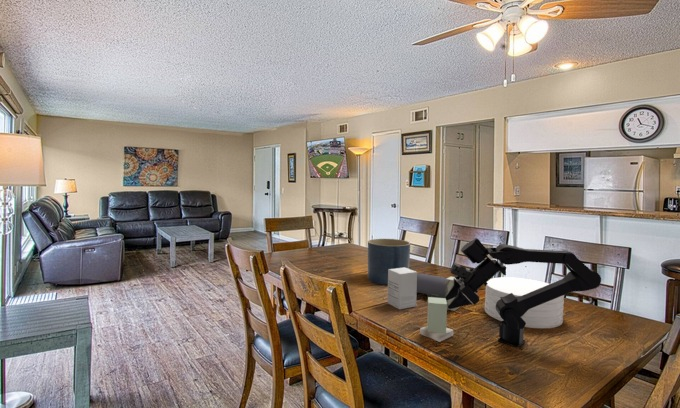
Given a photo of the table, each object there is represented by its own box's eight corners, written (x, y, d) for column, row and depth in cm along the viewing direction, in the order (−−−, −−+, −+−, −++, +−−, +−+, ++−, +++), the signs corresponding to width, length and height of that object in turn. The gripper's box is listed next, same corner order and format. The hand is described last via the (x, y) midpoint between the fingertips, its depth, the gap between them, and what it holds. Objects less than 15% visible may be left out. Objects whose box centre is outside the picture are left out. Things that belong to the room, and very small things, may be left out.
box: (449, 305, 157) (450, 276, 156) (459, 308, 154) (460, 277, 153) (444, 309, 153) (445, 278, 152) (454, 311, 150) (455, 280, 149)
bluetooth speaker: (467, 302, 162) (468, 279, 162) (459, 307, 155) (460, 284, 155) (421, 291, 177) (421, 270, 176) (411, 295, 170) (412, 274, 169)
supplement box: (403, 300, 163) (405, 266, 162) (416, 306, 155) (417, 271, 154) (386, 303, 159) (387, 268, 158) (398, 309, 151) (400, 273, 150)
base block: (453, 337, 127) (453, 330, 127) (439, 343, 122) (439, 336, 122) (433, 329, 133) (433, 322, 133) (419, 335, 128) (420, 328, 128)
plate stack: (473, 314, 148) (474, 286, 147) (499, 298, 168) (500, 273, 167) (551, 335, 129) (553, 303, 128) (570, 314, 149) (571, 286, 148)
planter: (364, 284, 187) (365, 244, 185) (368, 273, 208) (369, 237, 207) (409, 287, 183) (410, 246, 182) (408, 275, 205) (409, 239, 203)
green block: (444, 326, 130) (445, 298, 129) (446, 333, 124) (447, 304, 123) (427, 324, 131) (428, 297, 130) (427, 331, 125) (428, 302, 124)
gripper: (461, 250, 133) (429, 278, 136) (469, 261, 115) (432, 294, 117) (483, 273, 132) (450, 301, 135) (495, 288, 114) (457, 320, 117)
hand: (447, 303), depth 126 cm, fingers open, 9 cm apart
